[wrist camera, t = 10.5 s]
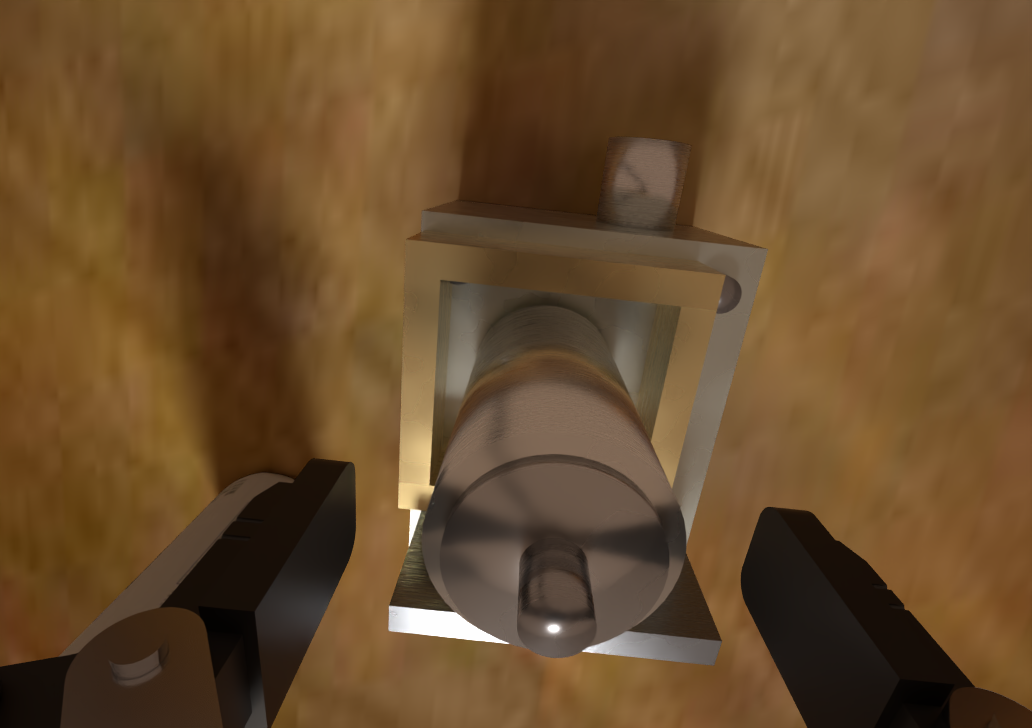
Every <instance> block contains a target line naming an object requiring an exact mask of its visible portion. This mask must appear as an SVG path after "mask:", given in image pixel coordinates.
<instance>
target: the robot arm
mask: <svg viewBox="0 0 1032 728" xmlns="http://www.w3.org/2000/svg"><path fill="white" fill-rule="evenodd" d="M355 532H356V498H355V467H354V464H353V463H352V462H344V461H334V460H325V459H315V458H313V459H311V460H310V461H309V462H308V463H307V465H306V466H305V467H304V468H303V470H302V471H301V472H300V474H299V475H298V476H297V478H296V479H295V480H294V482H293V483H287V482H278V483H276V484H274V485H273V486H271V487H270V488H268V489H266V490H265V491H263V492H261V493H260V494H258V495H257V496H255V497H253V499H252V500H251V501H250V502H249V503H248V505H247V506H246V507H245V508H244V509H243V510H242V512H241V513H240V514H239V515H238V516H237V519H236V521H233V522H232V523H231V524H230V526H229V527H228V528H227V529H226V530H225V531H224V533H223V534H222V538H221V539H218V540H217V541H216V542H215V543H214V544H213V546H212V547H211V548H210V549H209V550H208V551H207V553H206V554H205V555H204V556H203V557H202V558H201V560H200V561H199V562H198V563H197V564H196V566H195V567H194V568H193V569H192V570H191V571H190V573H189V574H188V575H187V576H186V577H185V578H184V580H183V581H182V582H181V583H180V584H179V585H178V587H177V588H176V589H175V590H174V591H173V592H172V594H171V595H170V596H169V597H168V598H167V600H166V601H165V602H164V603H163V604H162V605H161V607H160V608H156V609H151V610H147V611H143V612H140V613H137V614H134V615H132V616H129V617H127V618H125V619H123V620H120V621H118V622H116V623H115V624H113V625H111V626H110V627H108V628H106V629H105V630H103V631H102V632H101V633H99V634H98V635H96V636H95V637H94V638H93V639H92V640H91V641H89V642H88V643H87V644H86V645H85V646H84V647H83V648H82V649H81V651H80V652H79V653H76V654H71V655H66V656H60V657H54V658H48V659H43V660H37V661H31V662H25V663H19V664H14V665H8V666H2V667H0V728H271V726H272V724H273V722H274V720H275V718H276V715H277V713H278V711H279V709H280V707H281V705H282V703H283V700H284V698H285V696H286V694H287V692H288V690H289V688H290V685H291V683H292V681H293V679H294V677H295V675H296V673H297V670H298V668H299V666H300V664H301V662H302V660H303V658H304V656H305V653H306V651H307V649H308V647H309V645H310V643H311V641H312V638H313V636H314V634H315V632H316V630H317V628H318V626H319V623H320V621H321V619H322V617H323V615H324V613H325V611H326V608H327V606H328V604H329V602H330V600H331V598H332V596H333V594H334V591H335V589H336V587H337V585H338V583H339V581H340V579H341V576H342V574H343V572H344V570H345V568H346V566H347V564H348V561H349V559H350V556H351V553H352V549H353V545H354V540H355ZM741 589H742V594H743V598H744V601H745V603H746V606H747V608H748V610H749V612H750V614H751V616H752V618H753V620H754V622H755V624H756V626H757V628H758V630H759V632H760V634H761V636H762V638H763V640H764V642H765V644H766V646H767V648H768V650H769V652H770V654H771V656H772V658H773V660H774V662H775V664H776V666H777V668H778V670H779V672H780V674H781V676H782V678H783V680H784V682H785V684H786V686H787V688H788V690H789V692H790V694H791V696H792V698H793V700H794V702H795V704H796V706H797V708H798V710H799V712H800V714H801V716H802V718H803V720H804V722H805V724H806V726H807V728H1032V711H1030V710H1029V709H1027V708H1026V707H1024V706H1022V705H1020V704H1019V703H1017V702H1015V701H1013V700H1011V699H1009V698H1007V697H1005V696H1002V695H1000V694H997V693H995V692H992V691H989V690H985V689H981V688H976V687H975V686H974V685H973V684H972V683H971V682H970V681H969V679H968V678H967V677H966V676H965V675H964V674H963V672H962V671H961V670H960V669H959V668H958V667H957V666H956V664H955V663H954V662H953V661H952V660H951V659H950V657H949V656H948V655H947V654H946V653H945V652H944V650H943V649H942V648H941V647H940V646H939V645H938V644H937V642H936V641H935V640H934V639H933V638H932V637H931V635H930V634H929V633H928V632H927V631H926V630H925V629H924V627H923V626H922V625H921V624H920V623H919V622H918V620H917V619H916V618H915V617H914V616H913V615H912V614H911V612H910V611H909V610H905V609H904V604H903V603H902V602H901V601H900V600H899V599H898V597H897V596H896V595H895V594H894V593H893V592H892V590H888V589H887V585H886V583H885V582H884V581H883V580H882V579H881V578H880V577H879V575H878V574H877V573H876V572H875V571H874V570H873V568H872V567H871V566H870V565H869V564H868V563H867V562H866V561H865V560H864V559H862V558H861V557H860V556H858V555H857V554H856V553H854V552H853V551H852V550H850V549H849V548H848V547H846V546H845V545H844V544H842V543H841V542H840V541H836V540H835V539H834V538H833V537H832V536H831V534H830V533H829V532H828V531H827V530H826V528H825V527H824V526H823V525H822V524H821V522H820V521H819V520H818V519H817V518H816V516H815V515H814V514H813V513H811V512H809V511H804V510H795V509H785V508H775V507H767V508H765V509H764V510H763V511H762V513H761V514H760V517H759V519H758V522H757V525H756V528H755V531H754V534H753V537H752V540H751V543H750V546H749V549H748V552H747V555H746V558H745V561H744V564H743V567H742V572H741Z"/></svg>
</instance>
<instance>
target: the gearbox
mask: <svg viewBox="0 0 1032 728" xmlns="http://www.w3.org/2000/svg"><path fill="white" fill-rule="evenodd" d="M690 151H691V145H689V144H685V143H680V142H674V141H668V140H659V139H650V138H637V137H610V138H609V141H608V147H607V154H606V160H605V166H604V173H603V179H602V186H601V192H600V199H599V205H598V212H597V216H595V215H586V214H577V213H568V212H560V211H551V210H542V209H533V208H524V207H515V206H506V205H497V204H488V203H479V202H470V201H461V200H456V201H453V202H450V203H446V204H443V205H439V206H436V207H433V208H429V209H426V210H422V223H421V232H420V233H418V234H416V235H414V236H412V237H410V238H408V239H406V247H405V283H404V319H403V355H402V391H401V426H400V462H399V498H398V508H403V509H411V511H410V537H409V548H408V551H407V554H406V557H405V560H404V563H403V566H402V569H401V572H400V575H399V578H398V581H397V584H396V587H395V590H394V593H393V596H392V599H391V602H390V605H389V631H396V632H405V633H414V634H424V635H433V636H442V637H452V638H461V639H471V640H480V641H489V642H499V643H507V642H504V641H501V640H499V639H497V638H495V637H493V636H491V635H489V634H487V633H485V632H483V631H481V630H479V629H478V628H476V627H474V626H473V625H471V624H470V623H468V622H467V621H465V620H464V619H463V618H462V617H460V616H459V615H458V614H457V613H455V612H454V611H453V610H452V608H451V607H450V606H449V605H448V604H447V603H446V602H445V601H444V600H443V598H442V597H441V596H440V594H439V593H438V592H437V590H436V588H435V587H434V585H433V583H432V581H431V579H430V577H429V574H428V572H427V569H426V566H425V563H424V558H423V553H422V529H423V522H424V519H425V515H426V512H427V508H428V505H429V502H430V499H431V496H432V493H433V490H434V486H435V483H436V480H437V477H438V474H439V471H440V468H441V465H442V462H443V459H444V455H445V452H446V449H447V446H448V443H449V440H450V437H451V434H452V431H453V428H454V424H455V421H456V418H457V415H458V412H459V409H460V406H461V403H462V400H463V396H464V393H465V390H466V387H467V384H468V381H469V378H470V375H471V372H472V369H473V365H474V362H475V359H476V356H477V353H478V350H479V347H480V345H481V343H482V341H483V339H484V338H485V336H486V334H487V333H488V332H489V331H490V329H491V328H492V327H493V326H494V325H495V324H496V323H497V322H499V321H500V320H501V319H503V318H504V317H506V316H507V315H509V314H511V313H513V312H515V311H517V310H520V309H523V308H527V307H532V306H540V305H547V306H557V307H562V308H565V309H568V310H571V311H573V312H576V313H578V314H580V315H581V316H583V317H584V318H586V319H587V320H588V321H590V322H591V323H592V324H593V325H594V326H595V327H596V328H597V329H598V330H599V332H600V333H601V334H602V336H603V337H604V339H605V341H606V343H607V345H608V347H609V349H610V352H611V354H612V356H613V358H614V361H615V363H616V365H617V367H618V369H619V372H620V374H621V376H622V378H623V381H624V383H625V385H626V387H627V390H628V392H629V394H630V396H631V399H632V401H633V403H634V405H635V407H636V410H637V412H638V414H639V416H640V419H641V421H642V423H643V425H644V428H645V430H646V432H647V434H648V437H649V439H650V441H651V443H652V445H653V448H654V450H655V452H656V454H657V457H658V459H659V461H660V463H661V466H662V468H663V470H664V472H665V474H666V477H667V479H668V481H669V483H670V486H671V488H672V490H673V492H674V495H675V497H676V499H677V501H678V504H679V506H680V509H681V512H682V515H683V518H684V521H685V528H686V535H687V536H686V545H687V541H688V538H689V534H690V530H691V527H692V523H693V519H694V516H695V512H696V509H697V505H698V501H699V498H700V494H701V490H702V487H703V483H704V480H705V476H706V472H707V469H708V465H709V461H710V458H711V454H712V451H713V447H714V443H715V440H716V436H717V432H718V429H719V425H720V422H721V418H722V414H723V411H724V407H725V403H726V400H727V396H728V393H729V389H730V385H731V382H732V378H733V374H734V371H735V367H736V364H737V360H738V356H739V353H740V349H741V345H742V342H743V338H744V335H745V331H746V327H747V324H748V320H749V316H750V313H751V309H752V306H753V302H754V298H755V295H756V291H757V287H758V284H759V280H760V277H761V273H762V269H763V266H764V262H765V258H766V255H767V251H768V249H766V248H762V247H759V246H756V245H752V244H749V243H746V242H743V241H739V240H736V239H733V238H729V237H726V236H723V235H719V234H716V233H713V232H710V231H706V230H703V229H700V228H696V227H693V226H685V225H676V224H675V223H676V218H677V213H678V209H679V204H680V199H681V194H682V189H683V185H684V180H685V175H686V170H687V165H688V161H689V156H690ZM721 643H722V640H721V638H720V635H719V633H718V630H717V628H716V625H715V623H714V621H713V618H712V616H711V613H710V611H709V608H708V606H707V603H706V601H705V598H704V596H703V594H702V591H701V589H700V586H699V584H698V581H697V579H696V576H695V574H694V571H693V569H692V566H691V564H690V562H689V559H688V557H687V554H685V559H684V564H683V567H682V570H681V573H680V576H679V578H678V580H677V582H676V584H675V586H674V587H673V589H672V591H671V592H670V593H669V595H668V596H667V598H666V599H665V600H664V602H663V603H662V604H661V605H660V606H659V607H658V608H657V609H656V610H655V611H654V612H653V613H652V614H651V615H649V616H648V617H647V618H646V619H644V620H643V621H642V622H640V623H639V624H637V625H636V626H634V627H633V628H631V629H629V630H627V631H626V632H624V633H622V634H621V635H619V636H617V637H615V638H613V639H611V640H609V641H606V642H603V643H600V644H598V645H595V646H591V647H587V648H586V649H585V650H583V652H592V653H602V654H611V655H620V656H630V657H639V658H648V659H658V660H667V661H676V662H686V663H695V664H705V665H714V664H715V661H716V658H717V655H718V652H719V649H720V646H721ZM508 644H509V643H508Z"/></svg>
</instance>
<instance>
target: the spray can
mask: <svg viewBox="0 0 1032 728" xmlns="http://www.w3.org/2000/svg"><path fill="white" fill-rule="evenodd" d="M278 482H287V483H293V482H294V479H292V478H290V477H287V476H284V475H280V474H274V473H267V472H262V473H257V474H252V475H249V476H246V477H244V478H241V479H239V480H237V481H235V482H234V483H232V484H230V485H229V486H228V487H227V488H225V489H224V490H223V491H222V492H221V493H220V494H219V495H218V496H217V497H216V498H215V499H214V500H213V501H212V502H211V503H210V504H209V505H208V506H207V507H206V508H205V509H204V510H203V511H202V512H201V513H200V514H199V515H198V516H197V517H196V518H195V519H194V520H193V521H192V522H191V523H190V524H189V525H188V526H187V527H186V529H185V530H184V531H183V532H182V533H181V534H180V535H179V536H178V537H177V538H176V539H175V540H174V541H173V542H172V543H171V544H170V545H169V546H168V547H167V548H166V549H165V550H164V551H163V552H162V553H161V554H160V555H159V556H158V557H157V558H156V559H155V560H154V561H153V562H152V563H151V564H150V565H149V566H148V567H147V568H146V569H145V570H144V571H143V572H142V573H141V574H140V575H139V576H138V577H137V578H136V579H135V580H134V581H133V582H132V583H131V584H130V585H129V586H128V587H127V588H126V589H125V590H124V591H123V592H122V593H121V594H120V595H119V596H118V597H117V598H116V599H115V600H114V601H113V602H112V603H111V604H110V605H109V606H108V607H107V608H106V609H105V610H104V611H103V612H102V613H101V614H100V615H99V616H98V617H97V618H96V619H95V620H94V621H93V623H92V624H91V625H90V626H89V627H88V628H87V629H86V630H85V631H84V632H83V633H82V634H81V635H80V636H79V637H78V638H77V639H76V640H75V641H74V642H73V643H72V644H71V645H70V646H69V647H68V648H67V649H66V650H65V651H64V652H63V653H62V654H61V655H60V656H66V655H71V654H76V653H79V652H80V651H81V649H82V648H83V647H84V646H85V645H86V644H87V643H88V642H89V641H91V640H92V639H93V638H94V637H95V636H96V635H98V634H99V633H101V632H102V631H103V630H105V629H106V628H108V627H110V626H111V625H113V624H115V623H116V622H118V621H120V620H123V619H125V618H127V617H129V616H132V615H134V614H137V613H140V612H143V611H147V610H151V609H156V608H160V607H161V605H162V604H163V603H164V602H165V601H166V600H167V598H168V597H169V596H170V595H171V594H172V592H173V591H174V590H175V589H176V588H177V587H178V585H179V584H180V583H181V582H182V581H183V580H184V578H185V577H186V576H187V575H188V574H189V573H190V571H191V570H192V569H193V568H194V567H195V566H196V564H197V563H198V562H199V561H200V560H201V558H202V557H203V556H204V555H205V554H206V553H207V551H208V550H209V549H210V548H211V547H212V546H213V544H214V543H215V542H216V541H217V540H218V539H221V538H222V534H223V533H224V531H225V530H226V529H227V528H228V527H229V526H230V524H231V523H232V522H233V521H236V519H237V516H238V515H239V514H240V513H241V512H242V510H243V509H244V508H245V507H246V506H247V505H248V503H249V502H250V501H251V500H252V499H253V497H255V496H257V495H258V494H260V493H261V492H263V491H265V490H266V489H268V488H270V487H271V486H273V485H274V484H276V483H278ZM60 656H59V657H60Z"/></svg>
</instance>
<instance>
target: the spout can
mask: <svg viewBox="0 0 1032 728" xmlns="http://www.w3.org/2000/svg"><path fill="white" fill-rule="evenodd" d="M686 536H687V535H686V528H685V521H684V518H683V515H682V512H681V509H680V506H679V504H678V501H677V499H676V497H675V495H674V492H673V490H672V488H671V486H670V483H669V481H668V479H667V477H666V474H665V472H664V470H663V468H662V466H661V463H660V461H659V459H658V457H657V454H656V452H655V450H654V448H653V445H652V443H651V441H650V439H649V437H648V434H647V432H646V430H645V428H644V425H643V423H642V421H641V419H640V416H639V414H638V412H637V410H636V407H635V405H634V403H633V401H632V399H631V396H630V394H629V392H628V390H627V387H626V385H625V383H624V381H623V378H622V376H621V374H620V372H619V369H618V367H617V365H616V363H615V361H614V358H613V356H612V354H611V352H610V349H609V347H608V345H607V343H606V341H605V339H604V337H603V336H602V334H601V333H600V332H599V330H598V329H597V328H596V327H595V326H594V325H593V324H592V323H591V322H590V321H588V320H587V319H586V318H584V317H583V316H581V315H580V314H578V313H576V312H573V311H571V310H568V309H565V308H562V307H557V306H547V305H540V306H532V307H527V308H523V309H520V310H517V311H515V312H513V313H511V314H509V315H507V316H506V317H504V318H503V319H501V320H500V321H499V322H497V323H496V324H495V325H494V326H493V327H492V328H491V329H490V331H489V332H488V333H487V334H486V336H485V338H484V339H483V341H482V343H481V345H480V347H479V350H478V353H477V356H476V359H475V362H474V365H473V369H472V372H471V375H470V378H469V381H468V384H467V387H466V390H465V393H464V396H463V400H462V403H461V406H460V409H459V412H458V415H457V418H456V421H455V424H454V428H453V431H452V434H451V437H450V440H449V443H448V446H447V449H446V452H445V455H444V459H443V462H442V465H441V468H440V471H439V474H438V477H437V480H436V483H435V486H434V490H433V493H432V496H431V499H430V502H429V505H428V508H427V512H426V515H425V519H424V522H423V529H422V553H423V558H424V563H425V566H426V569H427V572H428V574H429V577H430V579H431V581H432V583H433V585H434V587H435V588H436V590H437V592H438V593H439V594H440V596H441V597H442V598H443V600H444V601H445V602H446V603H447V604H448V605H449V606H450V607H451V608H452V610H453V611H454V612H455V613H457V614H458V615H459V616H460V617H462V618H463V619H464V620H465V621H467V622H468V623H470V624H471V625H473V626H474V627H476V628H478V629H479V630H481V631H483V632H485V633H487V634H489V635H491V636H493V637H495V638H497V639H499V640H501V641H504V642H507V643H509V644H512V645H515V646H519V647H523V648H527V649H530V650H531V651H533V652H535V653H537V654H539V655H542V656H545V657H551V658H563V657H569V656H573V655H575V654H578V653H580V652H582V651H583V650H585V649H586V648H587V647H591V646H595V645H598V644H600V643H603V642H606V641H609V640H611V639H613V638H615V637H617V636H619V635H621V634H622V633H624V632H626V631H627V630H629V629H631V628H633V627H634V626H636V625H637V624H639V623H640V622H642V621H643V620H644V619H646V618H647V617H648V616H649V615H651V614H652V613H653V612H654V611H655V610H656V609H657V608H658V607H659V606H660V605H661V604H662V603H663V602H664V600H665V599H666V598H667V596H668V595H669V593H670V592H671V591H672V589H673V587H674V586H675V584H676V582H677V580H678V578H679V576H680V573H681V570H682V567H683V564H684V559H685V554H686Z"/></svg>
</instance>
